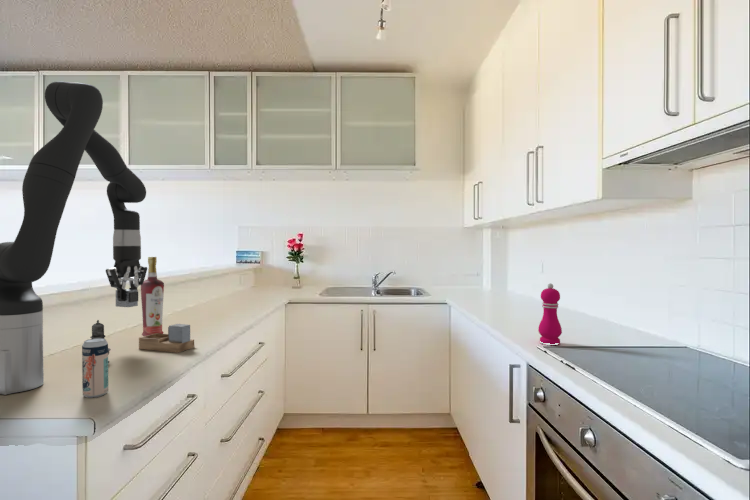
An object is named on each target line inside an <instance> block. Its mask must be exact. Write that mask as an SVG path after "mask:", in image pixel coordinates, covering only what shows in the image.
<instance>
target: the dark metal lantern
mask: <svg viewBox="0 0 750 500" xmlns="http://www.w3.org/2000/svg"><path fill="white" fill-rule="evenodd" d="M96 338H104V339H105V338H106V335H105V325H104V323H101V322H100V319H97V321H96V322H95V323H94V324H92V326H91V336H90V339H96ZM110 351H111V348H110V347H108V356H109V354H110ZM109 363H110V360H108V364H109Z"/></svg>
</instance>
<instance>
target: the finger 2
mask: <svg viewBox="0 0 750 500" xmlns="http://www.w3.org/2000/svg"><path fill="white" fill-rule="evenodd" d="M167 334H168V337H169V342H175V343H184V342H188V341H190V339H191V324H185V323H175V324H171V325H168V327H167Z"/></svg>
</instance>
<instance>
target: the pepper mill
mask: <svg viewBox="0 0 750 500" xmlns="http://www.w3.org/2000/svg"><path fill="white" fill-rule="evenodd" d="M540 292H541V293H540V300H542V302H541V305H542V308H543V313H542V318H541V320H540V322H539V325H538V328H537V329H538V330H537V332H538V334H539V335H540V336H541V337H539V342H540V341H541V342H543V343H550V344H555V343H560V344H561V339H560V336H561V335H562V334H563V330H562V325H561V323H560V321H559V317H558V309H559V303H558V302H559V301H560V299H561V293H560V292H559V290H558V289H556V288H554V285H553V284H552V283H548V284H547V287H546V288H544V289H543V290H542V291H540Z"/></svg>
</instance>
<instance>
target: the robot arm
mask: <svg viewBox="0 0 750 500" xmlns="http://www.w3.org/2000/svg"><path fill="white" fill-rule="evenodd" d="M44 100H45V104H46V106H47V108H48V110H49V112H50V113H51V114H52V115H53V117H55V118H56V120H57V121H58V122H59V123H60V124H61V125H62V126H63V127H62V128H61V130H60V131H59V132H58V133H57V134H56V135H55V136H54V137H53V138H52V139H50V141H48V142H46V144H44V145H43V146H42V147H41V148H40V149H39V150H38V151H37V152H36V153H35V154H34V155H33V156H32V158H31V159H30V162H29V165H28V168H27V170H26V172H25V175H24V177H23V181H22V189H21V191H22V193H21V195H22V201H23V202H22V203H23V218H22V223H21V225H20V228H19V231H18V232H17V235H16V236H15V239H14V241H7V242H6V241H5V242H0V395H5V396H6V395H10V394H14V393H19V392H20V393H22V392H25V391H29V390H33V389H37V388H38V387H41V386H42V385H44V382H45V381H44V379H45V378H44V375H45V373H44V324H43V323H44V319H43V318H44V317H43V316H44V312H43V311H44V310H43V309H44V305H43V299H42V298H41V296H39V295H38V294H37V293H36V292H35V290H34V288H33V282H36V281H39V280H40V279H42V278H43V276H45V274H46V273H48V270H49V267H50V266H51V260H52V257H53V252H54V246H55V243H56V238H57V234H58V233H57V232H58V230H59V229H58V228H59V225H60V223H61V220H62V218H63V217H62V216H63V213H64V211H65V208H66V204H67V202H68V201H67V200H68V199H69V196H70V193H71V190H72V188H73V185H74V182H75V181H76V180H75V178H76V176H77V173H78V168H79V166H80V163H81V160H82V157H83V155H84V153H86V154H87V156H89V158H90V159H91V161H92V162H93V164H94V165H95V167H96V168H97V170H98V172H99V173H100V174H101V176H102V178H103V179H104V180H106V181H107V182H109V183H108V185H107V186H106V196H107V199H108V203H109V204H110V208H111V212H112V215H113V235H112V254H113V255H112V258H113V259H112V260H114V264H113V267H111V268H106V269H105V273H106V276H107V279H108V282H109V285H110V287H111V288H114V289H116V290H117V298H118V300H119V301H125V300H126V293H125V291H126V289H127V288H126V286H127V282H128V285H129V287H128V289H133V290H138V288H139V286H141V285H142V284H143V282H144V281H145V280H146V279H145V278H146V275H147V273H148V267H147V266H143V265H141V262H140V260H141V259H142V241H141V240H142V237H141V231H140V230H141V225H140V224H141V223H140V221H141V220H140V217H141V216H140V213H139V212H137V211H135V210H131V209H127V207H126V205H125V203H126V204H128V203H129V204H138V203H141V202H143V201H144V200H146V199H145V198H146V197H147V190H146V186H145V183H143V181H142V180H141V179H140V177H138V176H137V174H135V173H134V172H133V171H132V170H131V169H130V168H129V167H128V166H127V165H126V163H125V161H124V159H123V158H122V155H121V154H120V152H119V150H117V148H116V147H115V146H114V144H112V143H111V142H110V141H108V140H107V139H106V138H105V137H104V136H102V135H101V134H100V133H98V132H97V131H96V130H95V128H96V126H97V124H98V122H99V120H100V118H101V116H102V111H103V105H104V104H103V103H104V101H103V96H102V93H101V91H100V90H99V89H98V88H97V87H96V86H95V85H92V84H88V83H83V82H74V81H73V82H72V81H54V82H53V81H52V82H50V83H49V84H48V85H47V86H46V88H45V89H44Z"/></svg>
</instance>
